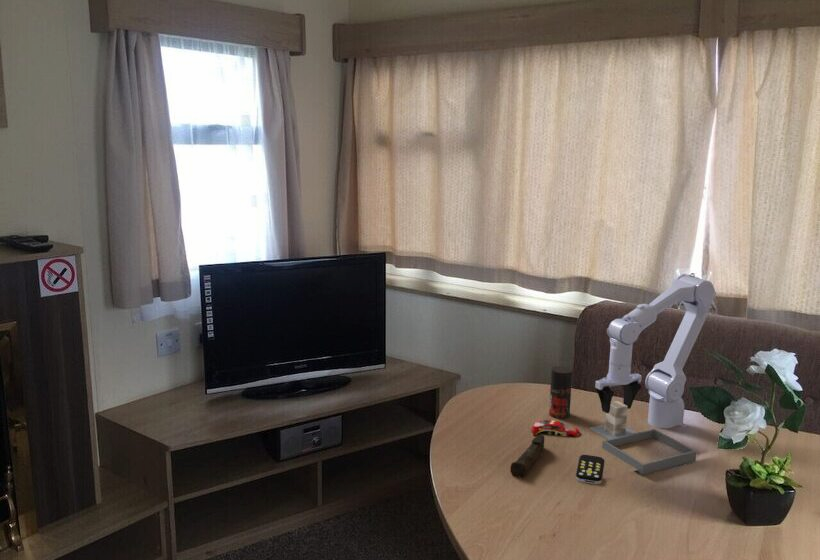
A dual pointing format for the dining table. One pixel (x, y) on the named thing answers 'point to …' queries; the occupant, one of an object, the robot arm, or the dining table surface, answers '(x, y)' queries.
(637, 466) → the bin
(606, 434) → the stud plate
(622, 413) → the beige block
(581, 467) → the remote control
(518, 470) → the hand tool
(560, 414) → the deodorant
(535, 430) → the race car
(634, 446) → the dining table surface
